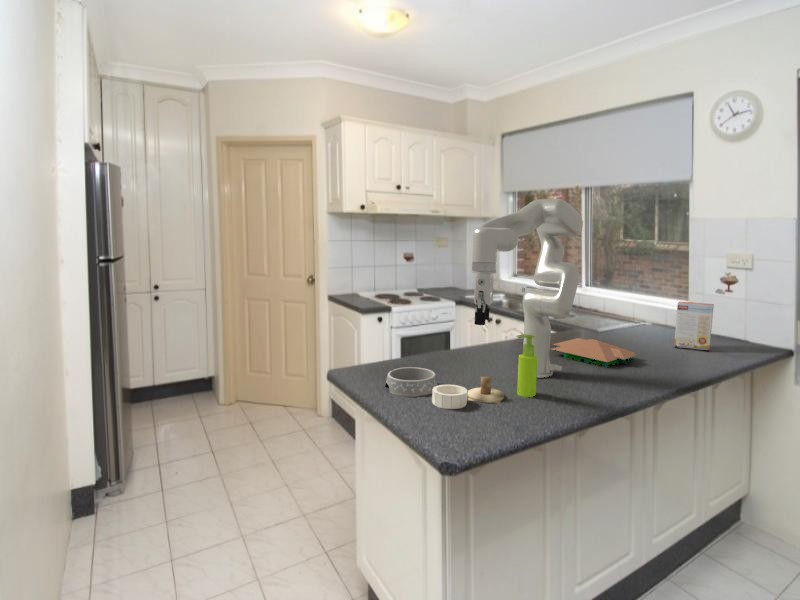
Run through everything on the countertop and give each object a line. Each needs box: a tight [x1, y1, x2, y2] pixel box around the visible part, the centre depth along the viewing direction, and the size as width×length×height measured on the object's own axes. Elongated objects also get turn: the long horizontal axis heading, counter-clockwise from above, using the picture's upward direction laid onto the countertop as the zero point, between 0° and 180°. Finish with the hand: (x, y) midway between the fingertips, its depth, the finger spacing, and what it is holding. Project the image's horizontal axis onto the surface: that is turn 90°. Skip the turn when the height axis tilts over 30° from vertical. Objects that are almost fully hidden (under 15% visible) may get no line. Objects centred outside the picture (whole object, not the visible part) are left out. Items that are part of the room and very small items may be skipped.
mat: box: [467, 397, 502, 405], centre depth 164 cm, size 10×10×1 cm
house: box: [551, 337, 638, 367], centre depth 215 cm, size 23×33×8 cm
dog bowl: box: [384, 366, 439, 398], centre depth 172 cm, size 17×18×5 cm
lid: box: [467, 376, 505, 404], centre depth 163 cm, size 11×11×6 cm
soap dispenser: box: [516, 333, 538, 398], centre depth 165 cm, size 6×7×20 cm
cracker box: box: [673, 301, 715, 349], centre depth 231 cm, size 14×6×21 cm, turn 58°
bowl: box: [431, 383, 468, 410], centre depth 157 cm, size 10×10×4 cm
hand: (481, 322), depth 162 cm, fingers open, 9 cm apart
